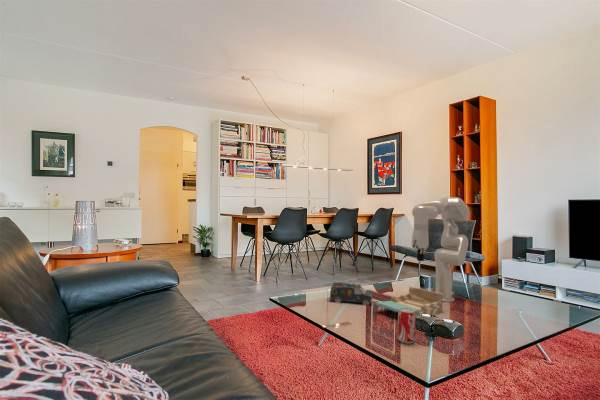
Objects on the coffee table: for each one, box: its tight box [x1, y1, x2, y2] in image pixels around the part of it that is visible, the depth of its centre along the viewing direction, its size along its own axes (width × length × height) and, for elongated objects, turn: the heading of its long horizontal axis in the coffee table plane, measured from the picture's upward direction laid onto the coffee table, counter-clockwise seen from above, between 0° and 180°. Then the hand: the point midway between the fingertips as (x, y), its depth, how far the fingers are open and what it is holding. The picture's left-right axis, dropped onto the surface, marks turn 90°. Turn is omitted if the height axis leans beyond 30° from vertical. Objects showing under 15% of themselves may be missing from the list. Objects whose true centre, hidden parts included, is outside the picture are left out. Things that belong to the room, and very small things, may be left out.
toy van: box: [329, 282, 373, 306], centre depth 196 cm, size 11×25×10 cm, turn 77°
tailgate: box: [375, 300, 420, 313], centre depth 172 cm, size 2×19×12 cm
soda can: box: [396, 308, 417, 345], centre depth 139 cm, size 7×7×13 cm
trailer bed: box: [390, 286, 443, 316], centre depth 182 cm, size 20×20×10 cm
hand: (420, 260), depth 185 cm, fingers closed
